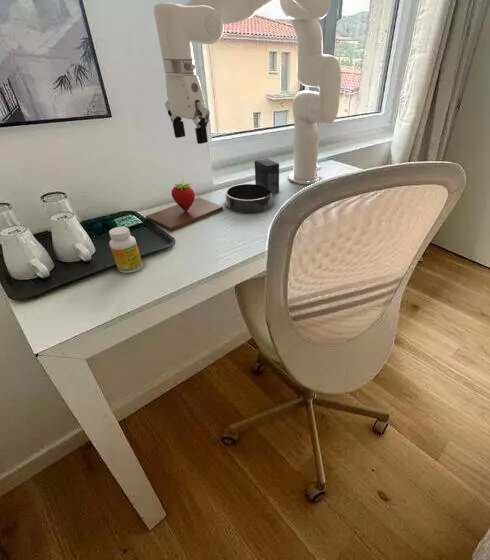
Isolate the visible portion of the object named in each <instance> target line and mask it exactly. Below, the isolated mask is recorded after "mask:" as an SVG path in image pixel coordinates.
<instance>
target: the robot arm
mask: <svg viewBox="0 0 490 560" xmlns="http://www.w3.org/2000/svg"><path fill="white" fill-rule="evenodd" d="M277 1H278V0H189V1H188V2H186V3H185V4H180V3H171V2H159V3H156V4H155V5H154V7H153V15H154V20H155V25H156V30H157V36H158V41H159V47H160V52H161V57H162V63H163V70H164V74H165V88H166V95H167V101H165V103H164V106H165V109H166V110H167V114H168V115H167V116H169V118H170V122H171V123H172V128H173V134H174V138H176V139H179V138H184V137H186V130H185V124H184V120H183V119H186V120H192V122H193V123H194V125H195V128H194V130H195V136H196V142H197V144H198V145H202V144H207V143H208V142H209V141H208V132H207V127H208V123H209V120H210V119H209V118H210V114H211V112H210V110H209V109H208V108H207V107H206V104H205V98H204V93H203V88H202V85H201V81H200V77H199V75H198V74H197V71H196V64H195V57H194V55H195V54H194V48H193V44H202V45H214V44H216V43H218V42H219V41H220V40H221V38H222V37H223V35H224V29H225V25H228V24H233V23H240V22H244V21H246V20H248V19H251V18H253V17H254V16H256V15H257V14H258V13H260V12H261V11H263V10H265V8H267V7H269V6H270V5H272V4H274V2H277ZM279 4H280V8H281V11H282V13H283V14H284V15H285V17H286V18H287V19H288V21H289V22H290V23H291V25H292V27H293V29H294V33H295V37H296V76H297V81H298V83H299V84H300V85H302V86H305V87H309V88H314V89H318V91H313V90H301V91H298V93H297V94H296V95H294V98H293V100H292V113H293V115H292V116H293V123H294V125H293V126H294V133H293V134H294V139H293V166H292V167H293V168H292V172H291V173H290V174H289V176H288V179H289V180H290V182H292V183H295V184H300V185H313V184H316V183H315V182H317V181H318V182H320V180H321V179H320V178H321V177H320V175H318V172H319V171H322V168H323V167H322V166H321V165H318V158H319V157H318V155H319V145H320V143H319V142H320V128H319V125H325V126H327V125H331V124H333V123H334V121H335V120H336V118H337V116H338V113H339V108H340V95H341V85H342V84H341V83H342V69H341V64H340V62H339V59H338V58H336V56H334V55H331V54H324V53H323V50H324V46H323V45H324V43H323V42H324V41H323V40H324V38H323V37H324V36H323V35H324V34H323V30H322V25H321V23H320V20H321V19H324V18H325V17H326V16H328V13H329V11H330V9H331V6H332V0H279ZM318 124H319V125H318ZM317 177H320V178H317ZM316 178H317V179H316ZM318 179H319V180H318ZM316 180H317V181H316ZM307 181H310V182H307ZM318 182H317V183H318Z"/></svg>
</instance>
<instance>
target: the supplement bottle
mask: <svg viewBox="0 0 490 560" xmlns="http://www.w3.org/2000/svg"><path fill="white" fill-rule="evenodd" d="M108 234H109V237H110V240H109V248H110V251H111V254H112V256H113V259H114V261H115V265H116V268H117V270H118V272H120V273H123V274H129V273H134V272H137V271H139V270H140V269H141V268H142V267H143V260H142V257H141V253H140V250H139V246H138V243H137V240H136V237H134V236H133V235H131V231H130V228H128V227H127V226H116V227H113V228H111V229H110V230H109V231H108Z"/></svg>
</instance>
